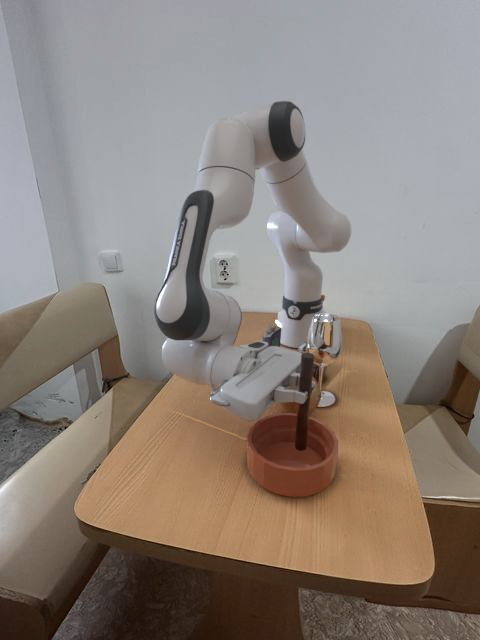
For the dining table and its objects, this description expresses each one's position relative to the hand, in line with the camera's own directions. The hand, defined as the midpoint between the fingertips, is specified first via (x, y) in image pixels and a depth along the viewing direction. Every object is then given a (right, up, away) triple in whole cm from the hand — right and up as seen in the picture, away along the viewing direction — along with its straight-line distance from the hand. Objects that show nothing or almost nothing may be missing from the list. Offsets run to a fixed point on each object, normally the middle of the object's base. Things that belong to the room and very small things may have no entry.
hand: (310, 393), depth 60 cm
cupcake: (+6, 0, +36) cm, 36 cm away
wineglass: (+7, -5, +26) cm, 28 cm away
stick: (-1, -10, +5) cm, 11 cm away
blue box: (-3, +4, +45) cm, 45 cm away
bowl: (-2, -14, +6) cm, 15 cm away
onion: (+1, -7, +21) cm, 22 cm away
